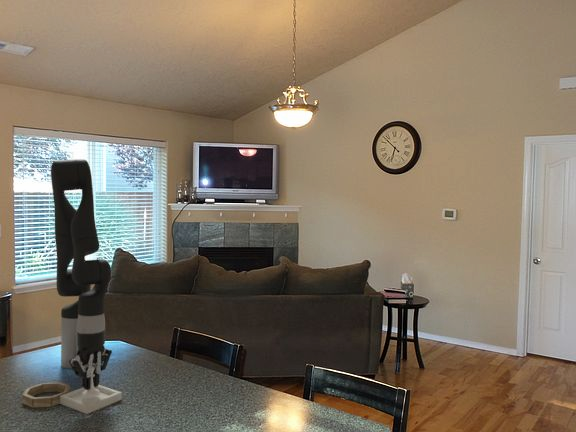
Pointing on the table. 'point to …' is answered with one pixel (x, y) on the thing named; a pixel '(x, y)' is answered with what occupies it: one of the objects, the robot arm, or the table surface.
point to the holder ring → (44, 401)
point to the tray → (90, 399)
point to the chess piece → (92, 391)
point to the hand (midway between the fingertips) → (90, 387)
